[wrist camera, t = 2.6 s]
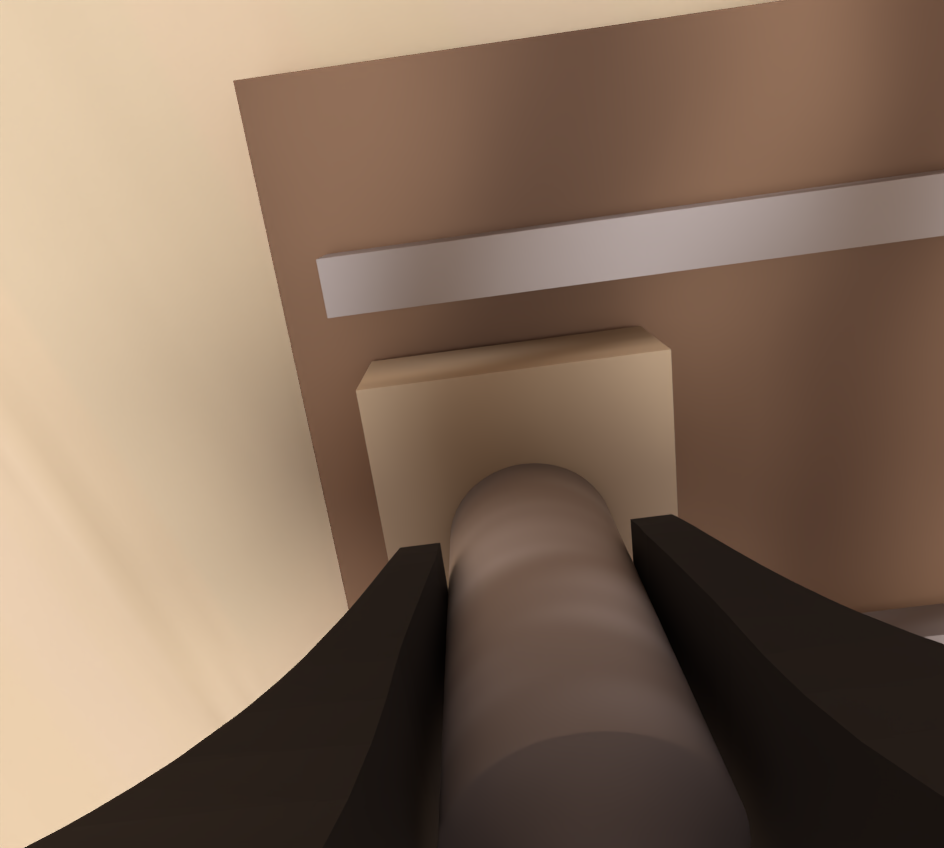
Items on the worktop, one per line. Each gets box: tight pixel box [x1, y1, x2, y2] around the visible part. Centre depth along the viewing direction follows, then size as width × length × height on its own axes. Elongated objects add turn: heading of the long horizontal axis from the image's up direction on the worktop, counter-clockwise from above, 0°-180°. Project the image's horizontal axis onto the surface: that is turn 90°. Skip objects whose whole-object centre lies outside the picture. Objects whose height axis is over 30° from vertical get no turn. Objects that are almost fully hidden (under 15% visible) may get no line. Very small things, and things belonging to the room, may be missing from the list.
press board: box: [234, 0, 944, 644], centre depth 13 cm, size 22×16×5 cm
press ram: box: [356, 326, 751, 848], centre depth 10 cm, size 5×6×8 cm
